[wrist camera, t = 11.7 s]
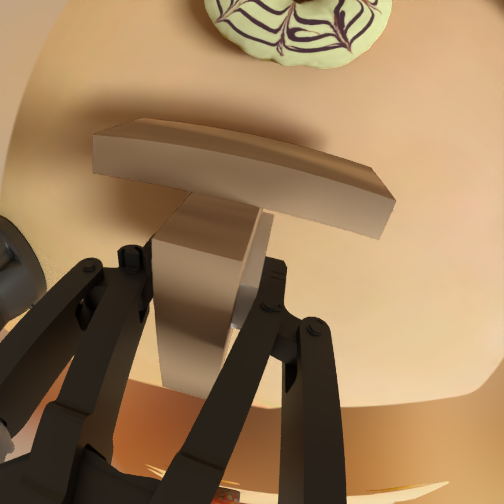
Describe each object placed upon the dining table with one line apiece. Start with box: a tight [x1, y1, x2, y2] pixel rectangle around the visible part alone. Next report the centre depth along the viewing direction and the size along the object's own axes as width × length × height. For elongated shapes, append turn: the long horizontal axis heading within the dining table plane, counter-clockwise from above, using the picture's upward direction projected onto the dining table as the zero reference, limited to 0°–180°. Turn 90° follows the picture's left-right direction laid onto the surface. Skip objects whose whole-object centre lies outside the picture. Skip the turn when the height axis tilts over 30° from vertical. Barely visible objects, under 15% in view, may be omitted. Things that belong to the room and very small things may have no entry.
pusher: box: [92, 118, 396, 399], centre depth 15 cm, size 12×14×9 cm
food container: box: [211, 487, 240, 504], centre depth 100 cm, size 16×16×11 cm
